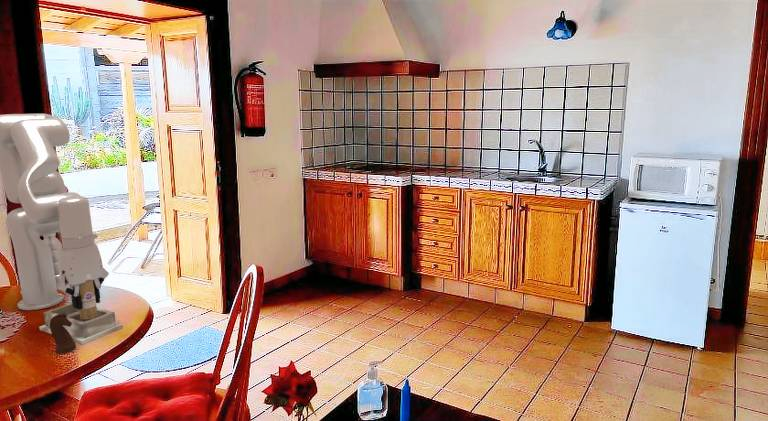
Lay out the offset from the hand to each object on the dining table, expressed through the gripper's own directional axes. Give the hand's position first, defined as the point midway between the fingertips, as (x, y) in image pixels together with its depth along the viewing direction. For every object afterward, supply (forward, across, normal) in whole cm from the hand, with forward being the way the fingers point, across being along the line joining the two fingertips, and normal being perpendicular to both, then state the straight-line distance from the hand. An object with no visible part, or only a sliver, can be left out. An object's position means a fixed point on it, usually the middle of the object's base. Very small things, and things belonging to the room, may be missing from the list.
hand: (87, 304), depth 150 cm
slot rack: (+8, 0, -5) cm, 9 cm away
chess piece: (+8, +10, +4) cm, 14 cm away
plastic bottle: (+8, -18, -48) cm, 51 cm away
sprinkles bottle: (+4, 0, 0) cm, 4 cm away
